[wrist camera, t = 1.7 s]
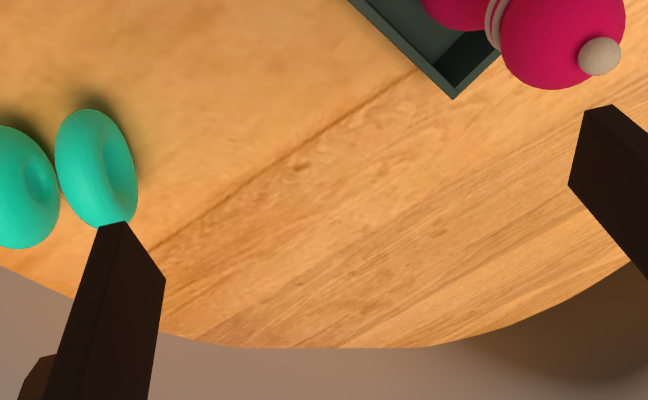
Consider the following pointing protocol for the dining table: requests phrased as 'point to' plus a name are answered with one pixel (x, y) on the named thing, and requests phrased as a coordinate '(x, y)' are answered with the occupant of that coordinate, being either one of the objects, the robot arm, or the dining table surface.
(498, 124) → the dining table surface
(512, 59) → the pepper mill
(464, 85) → the bin
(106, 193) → the donuts
